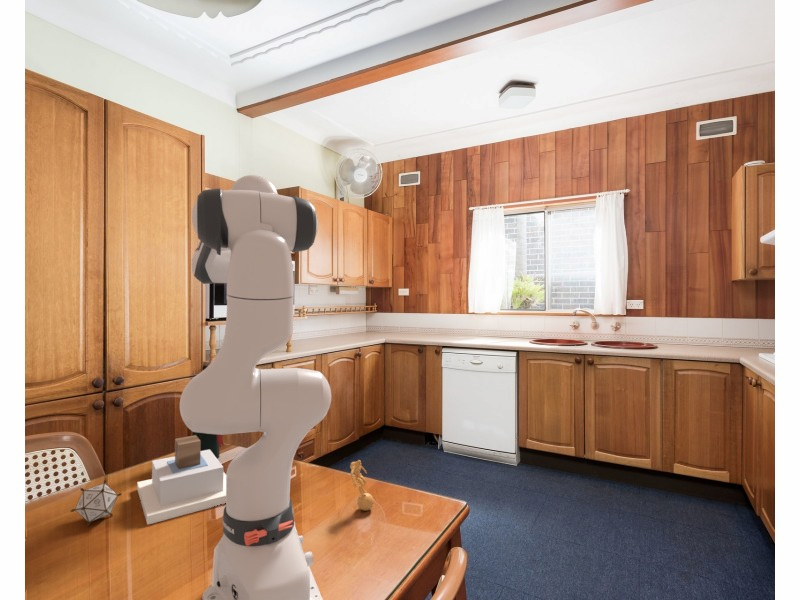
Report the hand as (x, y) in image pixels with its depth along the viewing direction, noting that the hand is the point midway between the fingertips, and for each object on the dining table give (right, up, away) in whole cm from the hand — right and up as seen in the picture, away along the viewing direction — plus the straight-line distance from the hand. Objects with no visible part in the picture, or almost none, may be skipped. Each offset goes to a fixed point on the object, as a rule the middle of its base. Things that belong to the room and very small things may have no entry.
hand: (242, 342), depth 126 cm
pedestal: (-9, -38, -15) cm, 41 cm away
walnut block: (-9, -29, -15) cm, 34 cm away
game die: (-23, -38, -27) cm, 52 cm away
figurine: (+36, -39, -20) cm, 57 cm away
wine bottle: (-13, -37, +8) cm, 40 cm away
